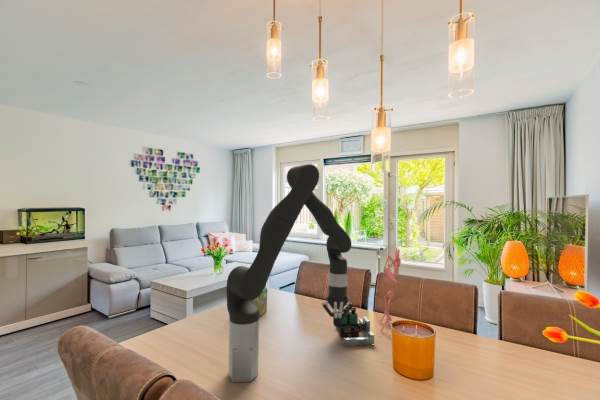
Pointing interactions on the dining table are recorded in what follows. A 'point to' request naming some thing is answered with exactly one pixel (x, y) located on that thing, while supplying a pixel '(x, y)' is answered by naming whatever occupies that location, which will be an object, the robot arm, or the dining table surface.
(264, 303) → the chalk box
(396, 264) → the figurine
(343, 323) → the binoculars
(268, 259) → the robot arm
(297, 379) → the dining table surface
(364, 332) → the bracket
